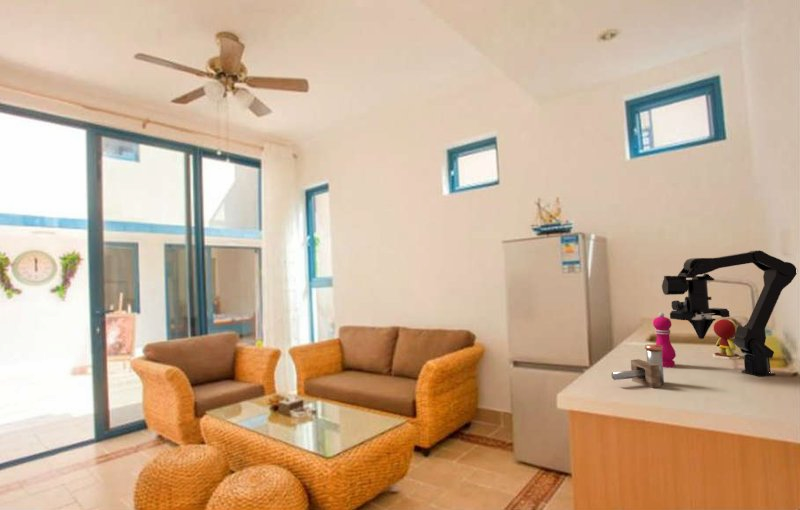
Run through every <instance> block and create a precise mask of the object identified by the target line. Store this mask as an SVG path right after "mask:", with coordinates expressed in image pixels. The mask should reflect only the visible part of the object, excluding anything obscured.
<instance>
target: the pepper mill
mask: <svg viewBox="0 0 800 510" xmlns="http://www.w3.org/2000/svg"><path fill="white" fill-rule="evenodd" d="M652 325H653V327H654V328H655V329H654V333H655V335H656V343H655V345H661V346H663V350H662V360H663V368H674V367H676V362H675V361H674V359H675V358H676V356H677V355H676V350H675V349H674V347H673V345H672V343H671V339H670V334H671V327H672V321H671V319H670V318H668V317H666V316H665V314H664V312H659V313H658V316H656V317H655V318H654V319H653V320H652Z"/></svg>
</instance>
